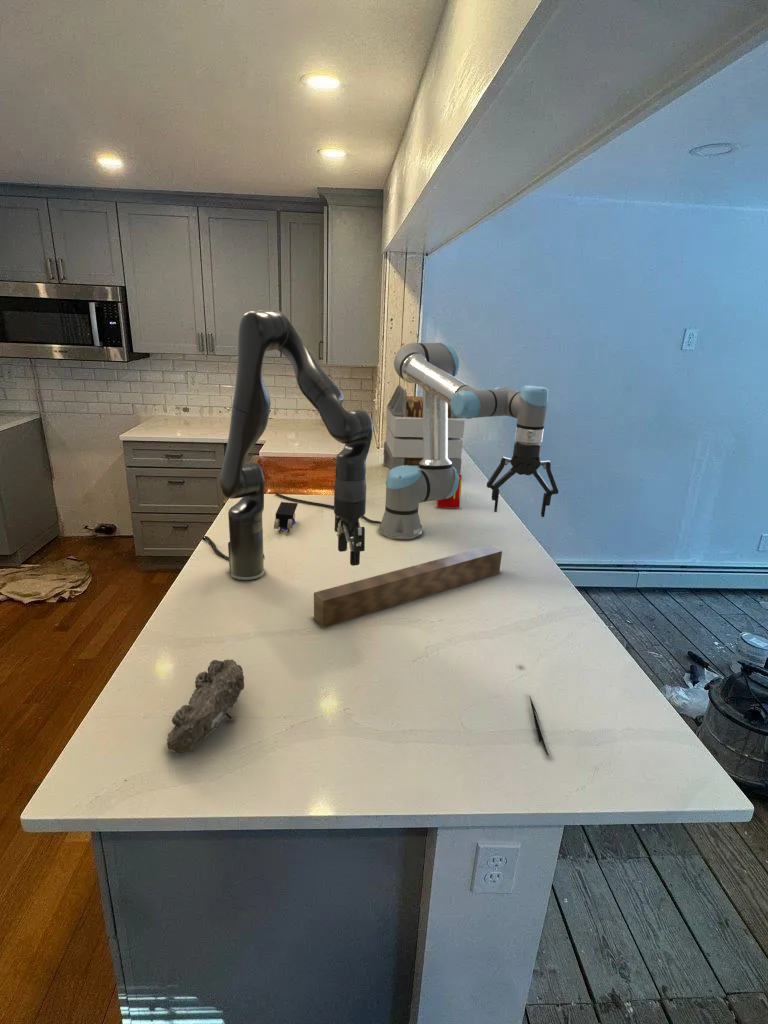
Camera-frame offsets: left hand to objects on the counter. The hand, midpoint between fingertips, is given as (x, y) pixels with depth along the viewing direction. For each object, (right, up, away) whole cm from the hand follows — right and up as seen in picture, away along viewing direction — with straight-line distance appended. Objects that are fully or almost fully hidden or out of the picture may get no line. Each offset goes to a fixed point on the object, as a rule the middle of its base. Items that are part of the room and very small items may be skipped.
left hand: (348, 557), depth 139 cm
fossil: (-24, -28, -31) cm, 48 cm away
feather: (+39, -28, -25) cm, 54 cm away
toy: (+34, +17, +101) cm, 108 cm away
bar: (+17, -12, +19) cm, 28 cm away
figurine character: (-26, +5, +61) cm, 66 cm away
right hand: (+48, +11, +27) cm, 57 cm away
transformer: (+26, +30, +135) cm, 141 cm away
